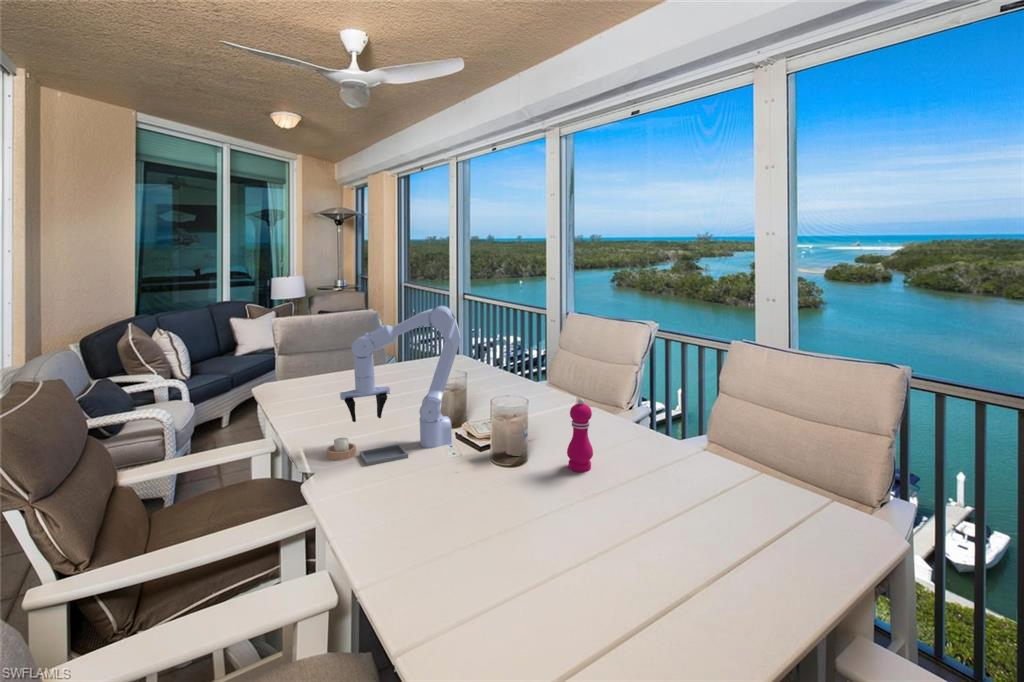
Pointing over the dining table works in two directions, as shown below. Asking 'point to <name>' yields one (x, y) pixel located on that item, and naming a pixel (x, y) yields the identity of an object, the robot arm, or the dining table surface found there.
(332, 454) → the bowl
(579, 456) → the pepper mill
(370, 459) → the parts tray
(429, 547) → the dining table surface
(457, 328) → the robot arm
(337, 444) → the pale grey rounded cylinder
